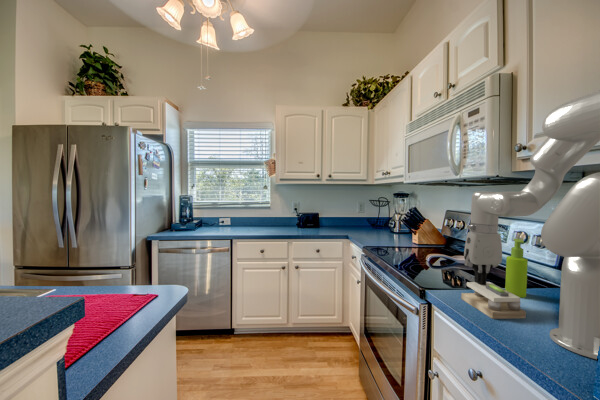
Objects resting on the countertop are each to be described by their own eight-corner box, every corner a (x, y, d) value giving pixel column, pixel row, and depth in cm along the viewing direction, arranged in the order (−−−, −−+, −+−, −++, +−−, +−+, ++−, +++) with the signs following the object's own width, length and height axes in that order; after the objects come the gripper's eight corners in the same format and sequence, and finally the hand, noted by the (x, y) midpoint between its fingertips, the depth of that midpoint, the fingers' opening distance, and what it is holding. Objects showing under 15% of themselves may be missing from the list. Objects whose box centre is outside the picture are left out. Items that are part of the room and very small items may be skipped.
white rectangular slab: (520, 301, 79) (520, 292, 79) (493, 301, 79) (494, 292, 78) (489, 285, 91) (490, 277, 91) (466, 285, 90) (467, 277, 90)
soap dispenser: (507, 296, 94) (509, 239, 93) (503, 290, 100) (505, 236, 99) (529, 300, 91) (531, 241, 90) (523, 293, 97) (526, 238, 97)
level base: (525, 318, 78) (526, 303, 78) (492, 318, 78) (493, 303, 78) (489, 298, 92) (490, 285, 92) (461, 298, 92) (461, 286, 91)
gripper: (469, 230, 84) (465, 288, 85) (515, 231, 85) (511, 288, 86) (454, 226, 92) (451, 279, 93) (496, 227, 92) (493, 279, 94)
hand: (480, 283), depth 89 cm, fingers closed
